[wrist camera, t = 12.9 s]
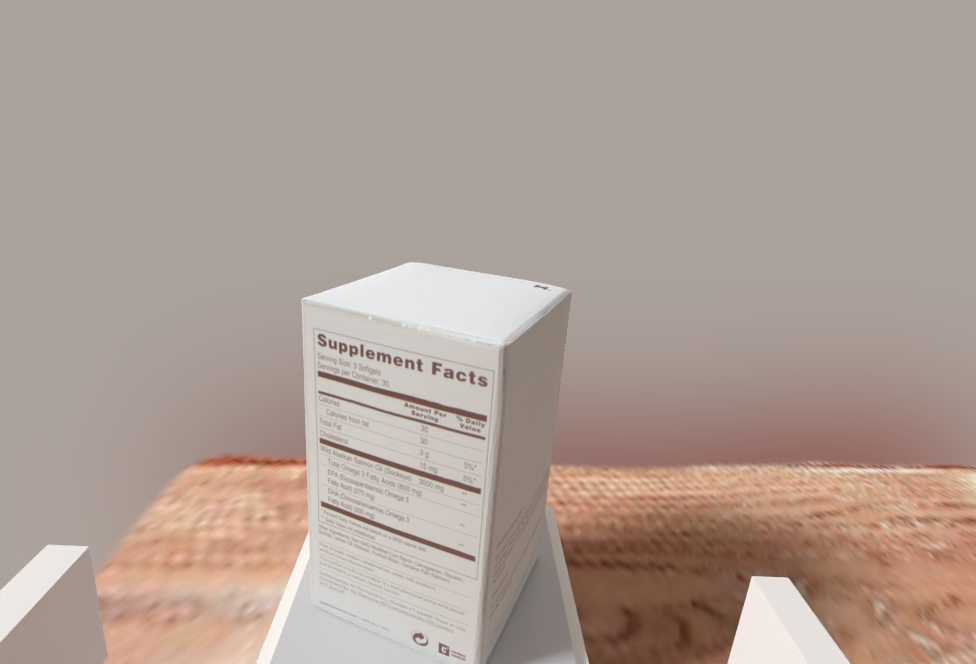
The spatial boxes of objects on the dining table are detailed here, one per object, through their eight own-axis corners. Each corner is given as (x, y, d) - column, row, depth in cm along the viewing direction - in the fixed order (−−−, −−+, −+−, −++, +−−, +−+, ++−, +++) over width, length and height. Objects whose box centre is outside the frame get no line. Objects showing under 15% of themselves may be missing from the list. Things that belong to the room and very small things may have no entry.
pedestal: (547, 547, 31) (553, 500, 30) (592, 782, 20) (605, 719, 19) (323, 538, 31) (322, 489, 30) (238, 775, 19) (232, 710, 18)
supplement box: (402, 506, 29) (411, 257, 25) (543, 555, 26) (579, 286, 22) (303, 608, 22) (293, 293, 18) (477, 687, 20) (511, 339, 16)
